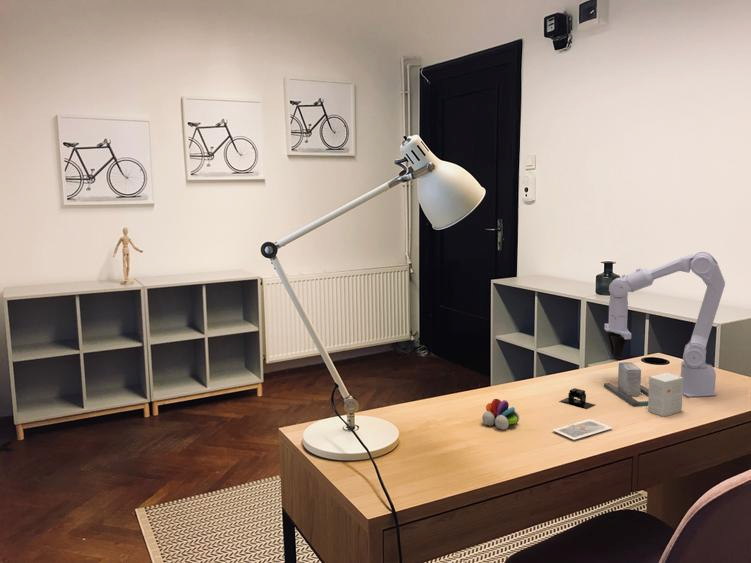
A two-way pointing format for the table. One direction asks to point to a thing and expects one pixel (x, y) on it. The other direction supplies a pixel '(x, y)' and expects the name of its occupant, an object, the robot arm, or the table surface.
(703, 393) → the robot arm
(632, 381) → the medicine box
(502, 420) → the bunch of balls
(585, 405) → the black ring bracket
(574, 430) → the touchpad
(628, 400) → the track
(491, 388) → the table surface
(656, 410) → the small box
